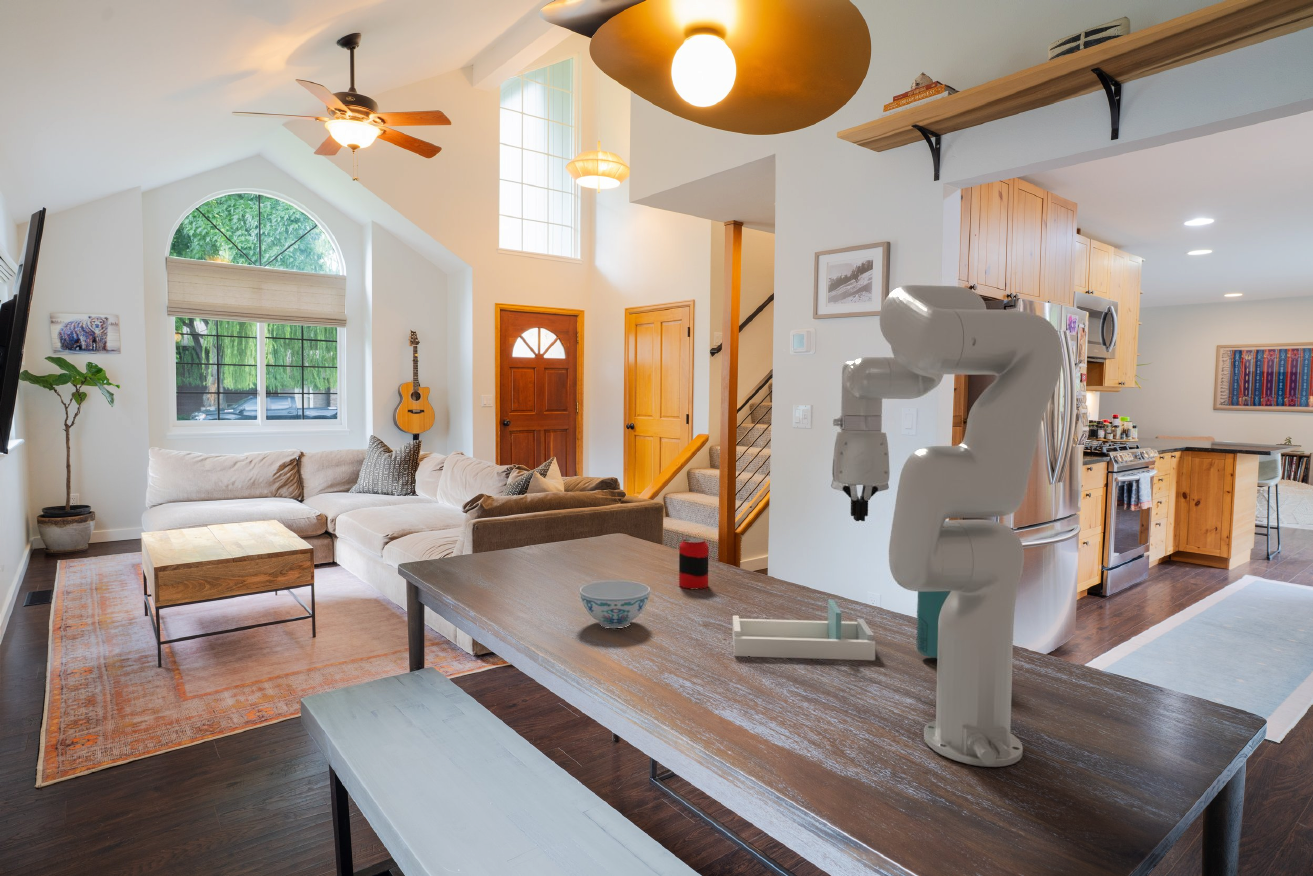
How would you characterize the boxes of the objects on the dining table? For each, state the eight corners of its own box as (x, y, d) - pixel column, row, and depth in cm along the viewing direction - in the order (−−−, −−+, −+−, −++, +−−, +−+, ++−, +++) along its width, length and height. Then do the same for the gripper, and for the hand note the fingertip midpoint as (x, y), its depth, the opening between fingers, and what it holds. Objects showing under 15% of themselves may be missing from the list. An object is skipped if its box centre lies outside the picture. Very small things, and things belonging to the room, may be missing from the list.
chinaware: (568, 631, 149) (568, 595, 149) (595, 611, 164) (595, 578, 163) (636, 639, 145) (636, 601, 145) (658, 617, 159) (658, 583, 159)
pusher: (840, 652, 135) (841, 612, 135) (835, 652, 135) (835, 612, 135) (832, 636, 144) (833, 599, 144) (827, 636, 145) (828, 599, 144)
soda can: (679, 582, 191) (679, 537, 190) (707, 582, 191) (708, 537, 190) (679, 589, 183) (679, 543, 183) (708, 590, 183) (709, 543, 182)
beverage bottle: (956, 667, 130) (959, 558, 129) (917, 664, 131) (920, 556, 130) (949, 655, 136) (951, 550, 135) (912, 652, 138) (914, 549, 137)
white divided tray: (875, 660, 133) (875, 637, 133) (734, 656, 135) (734, 633, 135) (861, 638, 146) (861, 617, 145) (732, 634, 148) (732, 613, 147)
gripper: (824, 425, 134) (822, 522, 136) (906, 426, 133) (903, 524, 134) (818, 424, 142) (816, 516, 143) (896, 424, 141) (893, 517, 142)
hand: (859, 519), depth 139 cm, fingers closed
